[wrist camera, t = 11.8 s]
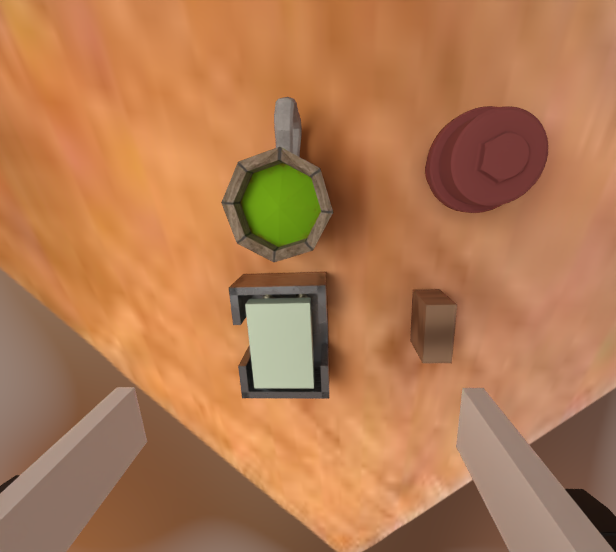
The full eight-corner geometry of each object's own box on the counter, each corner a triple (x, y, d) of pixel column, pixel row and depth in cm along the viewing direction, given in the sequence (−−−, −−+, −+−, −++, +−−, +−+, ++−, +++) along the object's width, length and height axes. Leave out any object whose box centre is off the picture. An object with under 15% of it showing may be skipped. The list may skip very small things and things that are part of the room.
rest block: (412, 289, 42) (426, 305, 36) (439, 289, 41) (457, 304, 36) (410, 341, 44) (422, 363, 38) (435, 340, 44) (451, 363, 38)
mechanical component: (508, 154, 36) (455, 223, 39) (442, 108, 36) (393, 182, 38) (595, 134, 25) (511, 236, 27) (500, 65, 24) (422, 177, 26)
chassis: (243, 274, 43) (228, 287, 37) (326, 271, 42) (325, 285, 36) (253, 371, 47) (242, 398, 41) (329, 370, 46) (329, 398, 40)
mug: (327, 247, 41) (327, 267, 29) (251, 240, 41) (221, 257, 30) (340, 122, 37) (345, 89, 25) (254, 116, 37) (221, 81, 26)
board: (249, 298, 38) (245, 304, 36) (310, 297, 38) (309, 303, 36) (257, 379, 42) (254, 388, 40) (314, 379, 41) (313, 388, 39)
